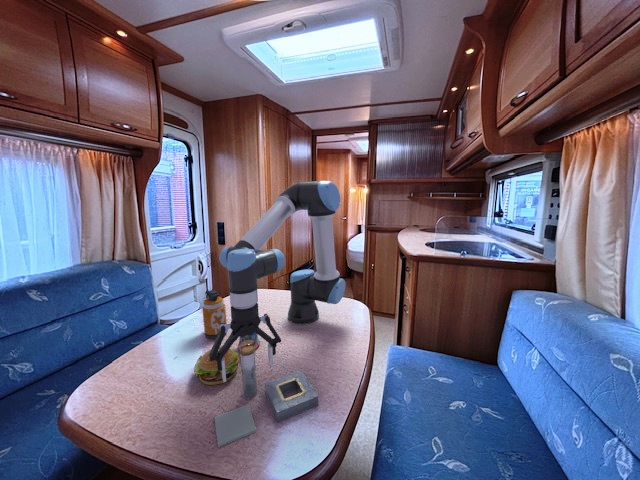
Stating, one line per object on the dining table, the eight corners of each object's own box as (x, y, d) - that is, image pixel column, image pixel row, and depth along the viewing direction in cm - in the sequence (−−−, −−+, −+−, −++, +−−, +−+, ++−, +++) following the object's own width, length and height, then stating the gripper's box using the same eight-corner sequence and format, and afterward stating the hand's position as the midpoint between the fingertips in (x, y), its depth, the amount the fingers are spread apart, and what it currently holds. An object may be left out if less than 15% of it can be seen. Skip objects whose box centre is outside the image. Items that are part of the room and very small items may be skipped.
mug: (251, 355, 96) (249, 329, 94) (231, 350, 99) (229, 324, 98) (269, 339, 107) (268, 315, 105) (251, 334, 110) (249, 311, 108)
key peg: (255, 385, 80) (252, 338, 78) (258, 394, 76) (255, 345, 74) (241, 390, 78) (238, 342, 76) (244, 399, 75) (240, 349, 72)
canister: (209, 342, 105) (204, 296, 101) (200, 332, 113) (196, 289, 110) (230, 334, 110) (227, 290, 107) (221, 325, 119) (217, 284, 115)
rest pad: (248, 406, 72) (248, 404, 72) (256, 431, 64) (256, 429, 64) (214, 418, 68) (214, 417, 68) (218, 447, 60) (217, 445, 60)
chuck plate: (301, 379, 83) (301, 370, 82) (318, 405, 72) (318, 395, 72) (265, 392, 77) (264, 382, 77) (277, 422, 67) (276, 412, 66)
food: (206, 360, 93) (204, 340, 92) (244, 361, 93) (243, 340, 91) (185, 388, 80) (182, 365, 78) (230, 389, 79) (228, 365, 78)
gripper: (282, 292, 82) (284, 353, 85) (195, 307, 70) (201, 377, 74) (290, 300, 75) (292, 366, 78) (196, 318, 64) (203, 394, 67)
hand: (248, 371), depth 76 cm, fingers open, 13 cm apart
